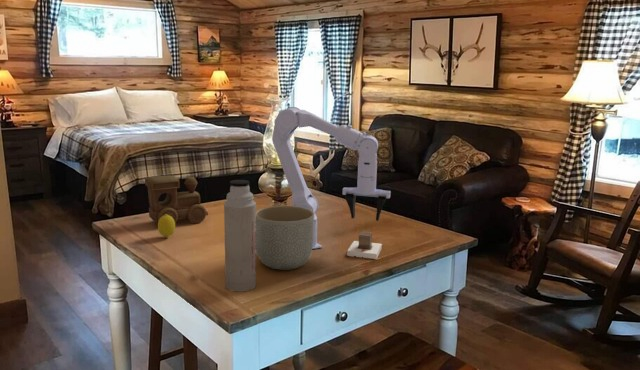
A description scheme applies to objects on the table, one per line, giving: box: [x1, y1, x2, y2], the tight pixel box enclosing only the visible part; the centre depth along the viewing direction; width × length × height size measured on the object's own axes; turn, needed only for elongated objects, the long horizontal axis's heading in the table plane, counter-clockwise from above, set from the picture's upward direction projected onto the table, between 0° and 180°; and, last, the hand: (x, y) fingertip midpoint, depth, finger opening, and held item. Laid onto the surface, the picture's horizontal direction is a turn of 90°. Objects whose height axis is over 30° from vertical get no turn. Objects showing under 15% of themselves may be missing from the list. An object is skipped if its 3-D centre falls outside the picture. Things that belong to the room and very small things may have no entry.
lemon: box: [157, 214, 176, 238], centre depth 179 cm, size 6×6×8 cm
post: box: [358, 231, 373, 250], centre depth 171 cm, size 4×4×6 cm
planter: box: [256, 205, 314, 271], centre depth 158 cm, size 17×17×15 cm
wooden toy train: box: [144, 174, 209, 224], centre depth 196 cm, size 20×11×17 cm, turn 121°
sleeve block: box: [346, 240, 383, 260], centre depth 171 cm, size 10×9×2 cm
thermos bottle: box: [223, 179, 257, 292], centre depth 141 cm, size 8×8×28 cm
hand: (365, 218), depth 170 cm, fingers open, 7 cm apart
